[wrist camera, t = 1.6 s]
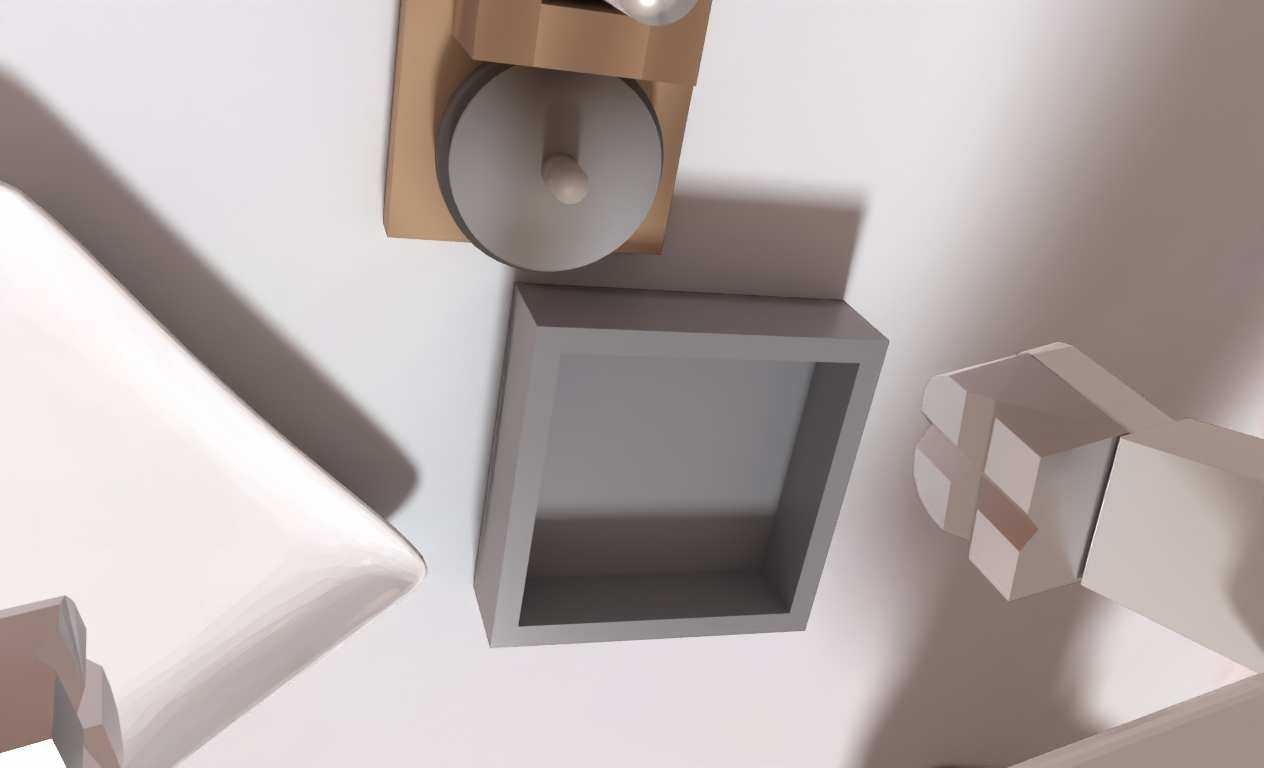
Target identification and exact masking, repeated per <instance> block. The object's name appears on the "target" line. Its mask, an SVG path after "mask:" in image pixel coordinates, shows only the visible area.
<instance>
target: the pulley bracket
mask: <svg viewBox="0 0 1264 768" xmlns="http://www.w3.org/2000/svg"><path fill="white" fill-rule="evenodd" d="M711 4H712V0H698V1H697V2H696V4H695V5H694V7H693V8H692V9H691V10H690V11H689V12H688V13H687V14H686V15H685V16H684V17H682V18H681V19H679V20H677V21H675V22H673V23H670V24H667V25H662V26H651V25H646V24H643V23H641V22H639V21H637V20H635V19H633V18H632V17H630V16H628V15H627V14H625V13H624V12H622V11H620V10H619V9H617V8H616V7H614V6H613V5H611V4H609V3H608V2H606V1H605V0H401V5H400V17H399V30H398V42H397V55H396V67H395V80H394V92H393V105H392V117H391V130H390V142H389V155H388V167H387V180H386V192H385V205H384V217H383V224H384V227H385V231H386V234H387V237H392V238H408V239H423V240H439V241H454V242H470V243H472V244H473V245H474V246H476V247H477V248H478V249H480V250H481V251H482V252H484V253H485V254H486V255H488V256H490V257H491V258H493V259H495V260H497V261H499V262H501V263H504V264H506V265H509V266H511V267H515V268H519V269H523V270H528V271H536V272H555V271H563V270H570V269H574V268H578V267H582V266H585V265H588V264H590V263H593V262H595V261H597V260H599V259H601V258H603V257H605V256H607V255H608V254H610V253H611V252H624V253H639V254H655V255H661V252H662V247H663V242H664V237H665V231H666V226H667V221H668V216H669V210H670V205H671V200H672V195H673V189H674V184H675V179H676V174H677V169H678V163H679V158H680V153H681V148H682V142H683V137H684V132H685V127H686V121H687V116H688V111H689V106H690V100H691V95H692V90H693V86H696V83H697V77H698V72H699V67H700V62H701V56H702V51H703V46H704V41H705V36H706V30H707V25H708V20H709V15H710V10H711Z"/></svg>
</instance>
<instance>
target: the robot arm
mask: <svg viewBox="0 0 1264 768" xmlns="http://www.w3.org/2000/svg"><path fill="white" fill-rule="evenodd" d="M921 411H922V413H923V414H924V415H925V417H926V418H927V419H928V421H929V422H930V423H931V425H930V427H929V428H928V429H927V431H926V432H925V434H924V435H923V436H922V438H921V439H920V440H919V442H918V443H917V445H916V448H915V458H914V468H913V474H914V478H915V482H916V486H917V490H918V494H919V498H920V499H921V501H922V503H923V505H924V507H925V509H926V510H927V512H928V514H929V515H930V517H931V518H932V519H933V520H934V521H935V522H936V523H937V525H938V526H939V527H940V528H941V529H942V530H943V531H945V532H948V533H950V534H953V535H955V536H958V537H960V538H963V539H966V540H968V541H969V560H970V561H971V562H972V563H973V564H974V565H975V566H976V567H977V568H978V569H979V570H980V572H981V573H982V574H983V575H984V576H985V577H986V578H987V579H988V580H989V581H990V582H991V583H992V584H993V586H994V587H995V588H996V589H997V590H998V591H999V592H1000V593H1001V594H1002V595H1003V596H1004V597H1005V598H1006V600H1007V601H1008V602H1009V601H1013V600H1016V599H1020V598H1023V597H1026V596H1030V595H1033V594H1037V593H1040V592H1044V591H1047V590H1050V589H1054V588H1057V587H1061V586H1064V585H1068V584H1071V583H1074V582H1078V581H1081V580H1082V581H1081V585H1082V586H1084V587H1086V588H1088V589H1090V590H1092V591H1094V592H1096V593H1098V594H1100V595H1102V596H1104V597H1106V598H1108V599H1110V600H1112V601H1114V602H1116V603H1118V604H1120V605H1122V606H1124V607H1126V608H1128V609H1130V610H1132V611H1134V612H1136V613H1138V614H1140V615H1142V616H1144V617H1146V618H1148V619H1150V620H1152V621H1154V622H1156V623H1158V624H1160V625H1162V626H1164V627H1166V628H1168V629H1170V630H1172V631H1174V632H1176V633H1178V634H1180V635H1182V636H1184V637H1186V638H1188V639H1190V640H1192V641H1194V642H1196V643H1198V644H1200V645H1202V646H1204V647H1206V648H1208V649H1210V650H1212V651H1214V652H1216V653H1218V654H1220V655H1222V656H1224V657H1226V658H1228V659H1230V660H1232V661H1234V662H1236V663H1238V664H1240V665H1242V666H1244V667H1246V668H1248V669H1250V670H1252V671H1254V672H1256V673H1258V674H1256V675H1254V676H1251V677H1248V678H1246V679H1243V680H1240V681H1238V682H1235V683H1232V684H1230V685H1227V686H1224V687H1221V688H1219V689H1216V690H1213V691H1211V692H1208V693H1205V694H1203V695H1200V696H1197V697H1195V698H1192V699H1189V700H1187V701H1184V702H1181V703H1179V704H1176V705H1173V706H1171V707H1168V708H1165V709H1162V710H1160V711H1157V712H1154V713H1152V714H1149V715H1146V716H1144V717H1141V718H1138V719H1136V720H1133V721H1130V722H1128V723H1125V724H1122V725H1120V726H1117V727H1114V728H1112V729H1109V730H1106V731H1104V732H1101V733H1098V734H1095V735H1093V736H1090V737H1087V738H1085V739H1082V740H1079V741H1077V742H1074V743H1071V744H1069V745H1066V746H1063V747H1061V748H1058V749H1055V750H1053V751H1050V752H1047V753H1045V754H1042V755H1039V756H1037V757H1034V758H1031V759H1028V760H1026V761H1023V762H1020V763H1018V764H1015V765H1012V766H1010V767H1007V768H1264V439H1261V438H1258V437H1254V436H1250V435H1247V434H1243V433H1240V432H1236V431H1233V430H1229V429H1225V428H1222V427H1218V426H1215V425H1211V424H1208V423H1204V422H1201V421H1197V420H1193V419H1190V418H1186V419H1182V420H1178V421H1175V420H1173V419H1172V418H1171V417H1169V416H1168V415H1167V414H1165V413H1164V412H1163V411H1161V410H1160V409H1158V408H1157V407H1156V406H1154V405H1153V404H1152V403H1150V402H1149V401H1148V400H1146V399H1145V398H1144V397H1142V396H1141V395H1140V394H1138V393H1137V392H1136V391H1134V390H1133V389H1131V388H1130V387H1129V386H1127V385H1126V384H1125V383H1123V382H1122V381H1121V380H1119V379H1118V378H1117V377H1115V376H1114V375H1113V374H1111V373H1110V372H1109V371H1107V370H1106V369H1104V368H1103V367H1102V366H1100V365H1099V364H1098V363H1096V362H1095V361H1094V360H1092V359H1091V358H1090V357H1088V356H1087V355H1086V354H1084V353H1083V352H1082V351H1080V350H1079V349H1077V348H1076V347H1075V346H1073V345H1070V344H1066V343H1062V342H1055V343H1051V344H1048V345H1044V346H1041V347H1037V348H1033V349H1030V350H1026V351H1023V352H1019V353H1017V354H1015V355H1014V356H1009V357H1005V358H1001V359H997V360H993V361H989V362H986V363H982V364H978V365H974V366H970V367H966V368H962V369H959V370H955V371H951V372H947V373H943V374H939V375H935V376H932V377H931V379H930V381H929V383H928V384H927V386H926V388H925V389H924V394H923V400H922V406H921ZM86 630H87V629H86V627H85V625H84V622H83V620H82V618H81V616H80V614H79V612H78V610H77V607H76V605H75V603H74V601H73V600H72V599H70V598H69V597H67V596H66V595H64V596H59V597H55V598H51V599H46V600H42V601H38V602H33V603H29V604H25V605H21V606H16V607H12V608H8V609H3V610H0V768H124V756H123V741H122V735H121V728H120V721H119V715H118V710H117V707H116V703H115V700H114V696H113V693H112V689H111V686H110V684H109V681H108V679H107V676H106V674H105V672H104V669H103V667H102V666H101V665H98V664H96V663H94V662H92V661H90V660H88V659H86Z"/></svg>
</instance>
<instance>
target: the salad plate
mask: <svg viewBox="0 0 1264 768" xmlns="http://www.w3.org/2000/svg"><path fill="white" fill-rule="evenodd" d="M426 575H427V566H426V563H425V561H424V559H423V557H422V555H421V554H420V553H419V552H418V550H417V549H416V548H415V547H414V546H413V545H412V544H411V543H410V542H409V541H408V540H407V539H406V538H405V537H404V536H403V535H402V534H401V533H400V532H399V531H398V530H397V529H396V528H395V527H393V526H392V525H391V524H390V523H389V522H388V521H386V520H385V519H384V518H383V517H382V516H381V515H379V514H378V513H377V512H376V511H375V510H373V509H372V508H371V507H370V506H368V505H367V504H366V503H365V502H363V501H362V500H361V499H360V498H359V497H357V496H356V495H355V494H354V493H352V492H351V491H350V490H349V489H347V488H346V487H345V486H344V485H342V484H341V483H340V482H339V481H338V480H336V479H335V478H334V477H333V476H331V475H330V474H329V473H328V472H326V471H325V470H324V469H323V468H322V467H320V466H319V465H318V464H317V463H316V462H314V461H313V460H312V459H311V458H310V457H308V456H307V455H306V454H305V453H304V452H302V451H301V450H300V449H299V448H298V447H296V446H295V445H294V444H293V443H292V442H291V441H289V440H288V439H287V438H286V437H285V436H284V435H282V434H281V433H280V432H279V431H278V430H277V429H275V428H274V427H273V426H272V425H271V424H270V423H268V422H267V421H266V420H265V419H264V418H263V417H261V416H260V415H259V414H258V413H257V412H256V411H255V410H254V409H252V408H251V407H250V406H249V405H248V404H247V403H246V402H245V401H244V400H242V399H241V398H240V397H239V396H238V395H237V394H236V393H235V392H234V391H233V390H231V389H230V388H229V387H228V386H227V385H226V384H225V383H224V382H223V381H222V380H221V379H220V378H219V377H217V376H216V375H215V374H214V373H213V372H212V371H211V370H210V369H209V368H208V367H207V366H205V365H204V364H203V363H202V362H201V361H200V360H199V359H198V358H197V357H196V356H195V355H194V354H193V353H192V352H190V351H189V350H188V349H187V348H186V347H185V346H184V345H183V344H182V343H181V342H180V341H179V340H178V339H177V338H176V337H175V336H174V335H173V334H172V333H171V332H170V331H169V330H168V329H167V328H166V327H165V326H164V325H163V324H162V323H161V322H160V321H159V320H158V319H157V318H156V317H155V316H154V315H153V314H152V313H151V312H150V311H148V310H147V309H146V308H145V307H144V306H143V305H142V304H141V303H140V301H139V300H138V299H137V298H136V297H135V296H134V295H133V294H132V293H131V292H130V291H129V290H128V289H127V288H126V287H125V286H123V285H122V284H121V283H120V282H119V281H118V280H117V279H116V278H115V277H114V276H113V275H112V274H111V273H110V272H109V271H108V270H107V269H106V268H105V267H104V266H103V265H102V264H101V263H100V262H99V261H98V260H97V259H96V258H95V257H94V256H93V255H92V254H91V253H90V252H89V251H88V250H87V249H86V248H85V247H84V246H83V245H82V244H81V243H80V242H79V241H78V240H77V239H76V238H75V237H74V236H73V235H72V234H71V233H69V232H68V231H67V230H66V229H65V228H64V227H63V226H62V225H61V224H60V223H59V222H58V221H57V220H56V219H54V218H53V217H52V216H51V215H50V214H49V213H48V212H47V211H46V210H45V209H44V208H42V207H41V206H40V205H39V204H37V203H36V202H35V201H34V200H33V199H31V198H30V197H29V196H28V195H26V194H25V193H24V192H23V191H21V190H19V189H18V188H16V187H14V186H12V185H10V184H8V183H6V182H4V181H0V610H3V609H8V608H12V607H16V606H21V605H25V604H29V603H33V602H38V601H42V600H46V599H51V598H55V597H59V596H64V595H66V596H67V597H69V598H70V599H72V600H73V601H74V603H75V605H76V607H77V610H78V612H79V614H80V616H81V618H82V620H83V622H84V625H85V627H86V629H87V630H86V659H88V660H90V661H92V662H94V663H96V664H98V665H101V666H102V667H103V669H104V672H105V674H106V676H107V679H108V681H109V684H110V686H111V689H112V693H113V696H114V700H115V703H116V707H117V710H118V715H119V721H120V728H121V735H122V741H123V756H124V768H180V767H181V766H182V765H184V764H185V763H186V762H187V761H189V760H190V759H191V758H192V757H194V756H195V755H196V754H198V753H199V752H200V751H201V750H203V749H204V748H205V747H207V746H208V745H209V744H211V743H212V742H213V741H215V740H216V739H217V738H218V737H220V736H221V735H222V734H224V733H225V732H226V731H227V730H229V729H230V728H231V727H233V726H234V725H235V724H236V723H238V722H239V721H240V720H242V719H243V718H244V717H246V716H247V715H248V714H249V713H251V712H252V711H253V710H255V709H256V708H257V707H259V706H260V705H261V704H263V703H264V702H265V701H267V700H268V699H269V698H271V697H272V696H273V695H275V694H276V693H277V692H279V691H280V690H281V689H283V688H284V687H285V686H287V685H288V684H289V683H291V682H292V681H293V680H295V679H296V678H298V677H299V676H300V675H302V674H303V673H305V672H306V671H307V670H309V669H310V668H311V667H313V666H314V665H316V664H317V663H318V662H320V661H321V660H323V659H324V658H325V657H327V656H328V655H329V654H331V653H332V652H334V651H335V650H336V649H338V648H339V647H341V646H342V645H343V644H345V643H346V642H347V641H349V640H350V639H351V638H353V637H354V636H355V635H357V634H358V633H359V632H361V631H362V630H363V629H365V628H366V627H368V626H369V625H370V624H372V623H373V622H374V621H376V620H377V619H378V618H380V617H381V616H382V615H383V614H385V613H386V612H387V611H389V610H390V609H391V608H392V607H394V606H395V605H396V604H397V603H399V602H400V601H401V600H402V599H404V598H405V597H406V596H407V595H408V594H410V593H411V592H412V591H413V590H414V589H416V588H417V587H418V586H419V585H420V584H421V583H422V581H423V580H424V579H425V577H426Z"/></svg>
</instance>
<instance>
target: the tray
mask: <svg viewBox="0 0 1264 768" xmlns="http://www.w3.org/2000/svg"><path fill="white" fill-rule="evenodd" d="M888 344H889V340H888V339H887V338H886V337H885V336H884V335H882V334H881V333H880V332H879V331H878V330H877V329H876V328H874V327H873V326H872V325H871V324H870V323H869V322H868V321H867V320H865V319H864V318H863V317H862V316H861V315H860V314H859V313H857V312H856V311H855V310H854V309H853V308H852V307H851V306H849V305H848V304H847V303H846V302H845V301H844V300H828V299H809V298H791V297H772V296H753V295H735V294H716V293H698V292H679V291H660V290H642V289H623V288H604V287H586V286H567V285H548V284H530V283H514V290H513V297H512V305H511V312H510V320H509V327H508V335H507V342H506V350H505V357H504V364H503V372H502V379H501V387H500V394H499V402H498V409H497V416H496V424H495V431H494V439H493V446H492V454H491V461H490V468H489V476H488V483H487V491H486V498H485V506H484V513H483V520H482V528H481V535H480V543H479V550H478V558H477V565H476V572H475V580H474V591H475V595H476V598H477V602H478V605H479V609H480V613H481V616H482V620H483V624H484V627H485V631H486V634H487V638H488V642H489V645H490V648H501V647H519V646H538V645H556V644H574V643H592V642H610V641H628V640H646V639H664V638H682V637H700V636H718V635H736V634H754V633H772V632H791V631H805V629H806V625H807V622H808V619H809V615H810V612H811V608H812V605H813V601H814V598H815V595H816V591H817V588H818V584H819V581H820V577H821V574H822V571H823V567H824V564H825V560H826V557H827V553H828V550H829V547H830V543H831V540H832V536H833V533H834V529H835V526H836V523H837V519H838V516H839V512H840V509H841V505H842V502H843V499H844V495H845V492H846V488H847V485H848V481H849V478H850V475H851V471H852V468H853V464H854V461H855V457H856V454H857V451H858V447H859V444H860V440H861V437H862V433H863V430H864V427H865V423H866V420H867V416H868V413H869V409H870V406H871V402H872V399H873V396H874V392H875V389H876V385H877V382H878V378H879V375H880V372H881V368H882V365H883V361H884V358H885V354H886V351H887V348H888Z"/></svg>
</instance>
